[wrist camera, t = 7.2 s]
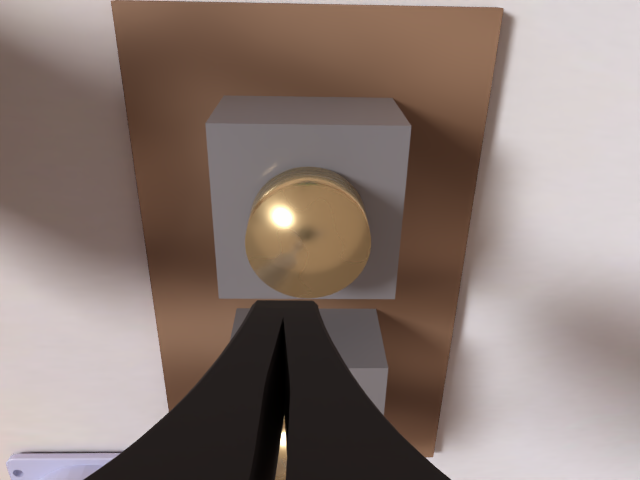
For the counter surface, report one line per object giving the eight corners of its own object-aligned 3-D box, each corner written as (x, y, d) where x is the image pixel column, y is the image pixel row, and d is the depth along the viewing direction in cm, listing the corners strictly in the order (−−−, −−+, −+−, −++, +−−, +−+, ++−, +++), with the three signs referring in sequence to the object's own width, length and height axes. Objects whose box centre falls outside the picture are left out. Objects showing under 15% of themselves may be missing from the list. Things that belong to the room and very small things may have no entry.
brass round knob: (353, 222, 21) (367, 298, 16) (261, 221, 21) (247, 298, 16) (357, 132, 20) (375, 186, 15) (258, 131, 19) (242, 185, 15)
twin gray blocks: (367, 413, 26) (377, 481, 22) (242, 413, 26) (233, 482, 22) (392, 97, 19) (411, 125, 16) (223, 95, 19) (205, 123, 16)
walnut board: (430, 447, 28) (433, 457, 27) (178, 449, 28) (175, 458, 27) (497, 7, 19) (503, 8, 18) (116, 0, 18) (110, 1, 18)
